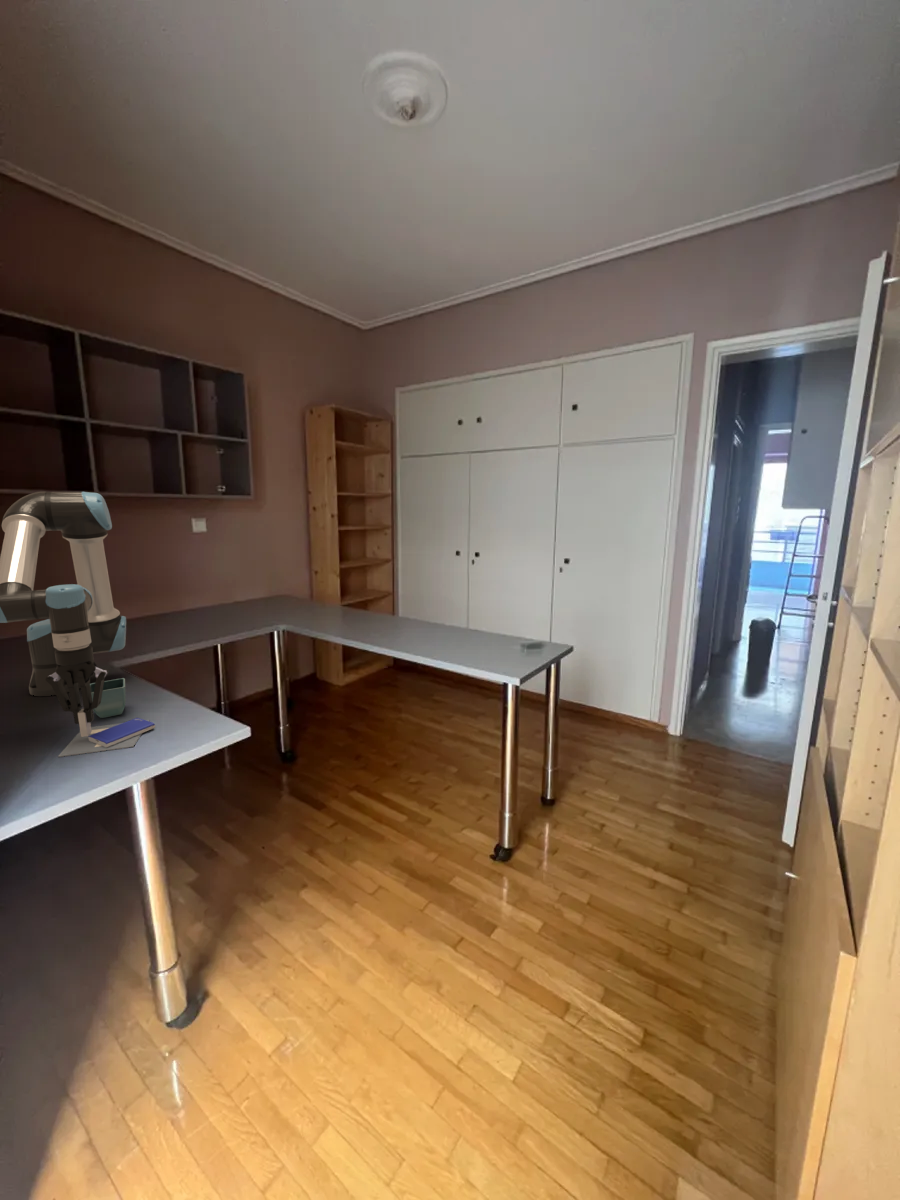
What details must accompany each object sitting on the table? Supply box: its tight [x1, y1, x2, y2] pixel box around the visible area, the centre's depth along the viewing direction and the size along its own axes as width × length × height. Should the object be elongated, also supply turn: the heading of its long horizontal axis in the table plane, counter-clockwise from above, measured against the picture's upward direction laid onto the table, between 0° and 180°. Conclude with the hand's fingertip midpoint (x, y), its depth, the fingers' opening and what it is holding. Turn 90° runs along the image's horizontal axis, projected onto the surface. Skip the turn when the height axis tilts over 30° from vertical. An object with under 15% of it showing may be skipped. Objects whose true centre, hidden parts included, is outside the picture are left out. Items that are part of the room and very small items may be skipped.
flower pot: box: [90, 677, 127, 719], centre depth 142 cm, size 9×9×9 cm
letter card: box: [57, 719, 151, 758], centre depth 128 cm, size 16×16×1 cm
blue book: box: [88, 717, 156, 747], centre depth 129 cm, size 2×8×12 cm
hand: (86, 734), depth 126 cm, fingers closed
